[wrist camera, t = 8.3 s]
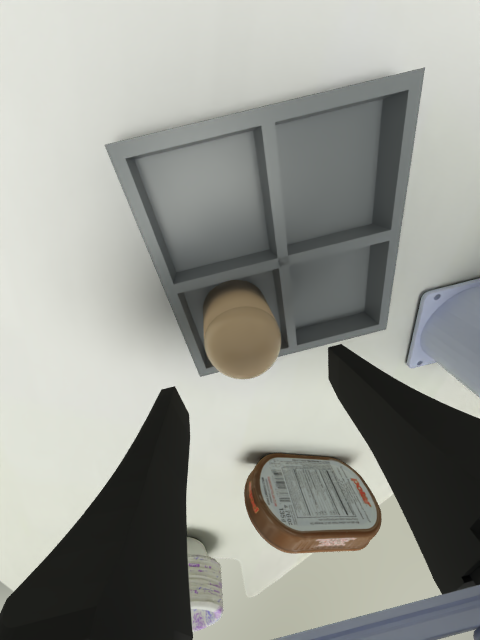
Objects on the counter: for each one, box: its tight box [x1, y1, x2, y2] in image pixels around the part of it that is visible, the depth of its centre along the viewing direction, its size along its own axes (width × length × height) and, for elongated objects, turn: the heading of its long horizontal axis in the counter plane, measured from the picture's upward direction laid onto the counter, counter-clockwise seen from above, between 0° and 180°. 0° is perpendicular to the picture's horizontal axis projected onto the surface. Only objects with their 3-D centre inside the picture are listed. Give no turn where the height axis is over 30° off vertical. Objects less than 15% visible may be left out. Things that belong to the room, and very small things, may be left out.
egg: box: [203, 280, 281, 379], centre depth 15 cm, size 4×4×6 cm
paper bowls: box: [187, 537, 223, 632], centre depth 35 cm, size 15×15×8 cm
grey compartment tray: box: [105, 68, 425, 377], centre depth 15 cm, size 14×14×2 cm
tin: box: [244, 453, 381, 553], centre depth 27 cm, size 15×3×8 cm, turn 70°
